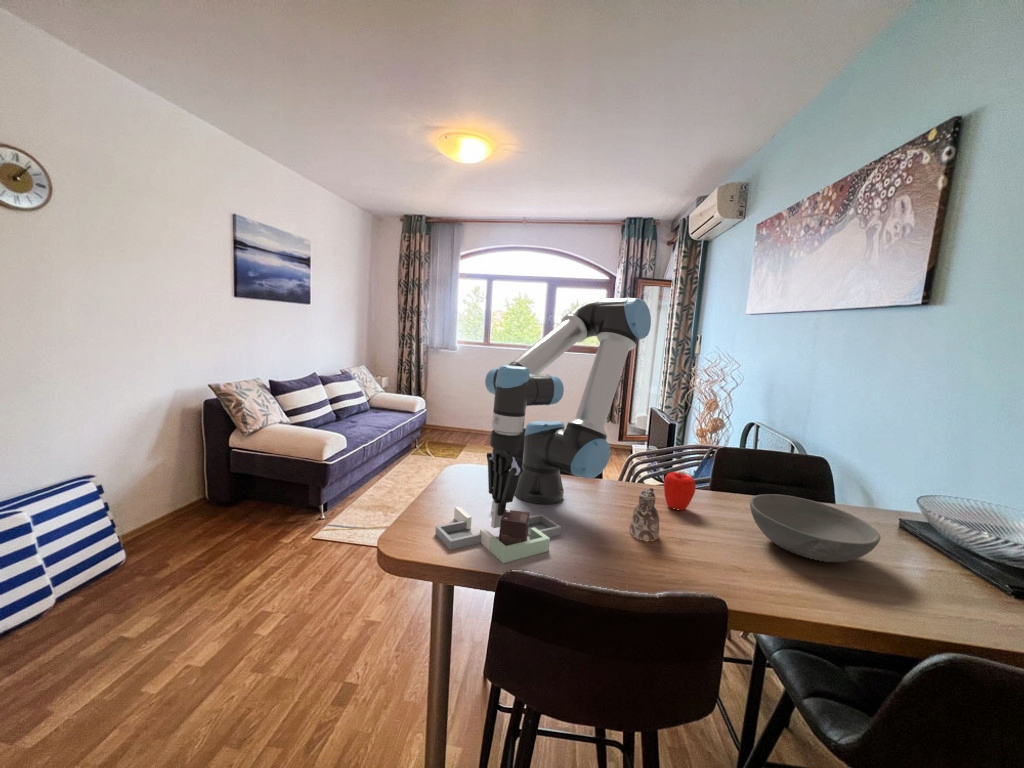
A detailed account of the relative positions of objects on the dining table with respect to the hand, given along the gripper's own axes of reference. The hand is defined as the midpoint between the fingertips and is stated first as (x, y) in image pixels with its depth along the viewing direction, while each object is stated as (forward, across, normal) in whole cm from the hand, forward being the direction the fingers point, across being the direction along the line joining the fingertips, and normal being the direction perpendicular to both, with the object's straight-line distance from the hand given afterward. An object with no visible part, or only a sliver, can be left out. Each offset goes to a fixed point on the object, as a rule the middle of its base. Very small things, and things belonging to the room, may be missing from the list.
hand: (497, 526), depth 101 cm
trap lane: (+2, 0, +1) cm, 2 cm away
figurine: (+1, +16, +35) cm, 38 cm away
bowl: (0, +40, +67) cm, 78 cm away
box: (+2, +7, 0) cm, 7 cm away
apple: (+1, +8, +60) cm, 60 cm away
